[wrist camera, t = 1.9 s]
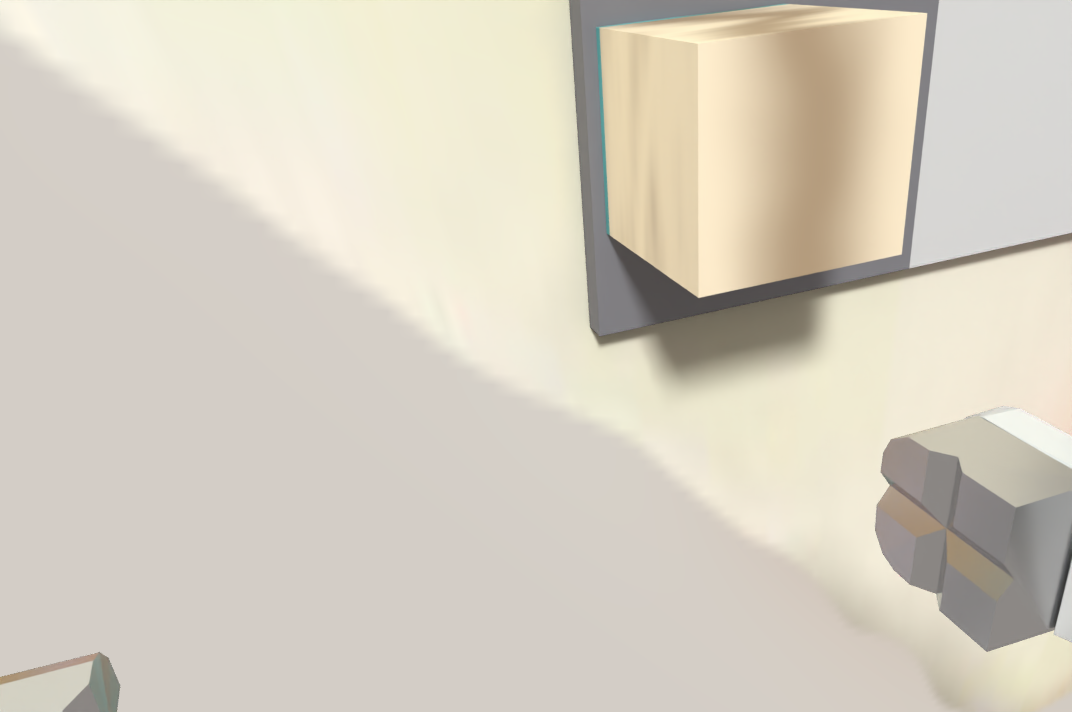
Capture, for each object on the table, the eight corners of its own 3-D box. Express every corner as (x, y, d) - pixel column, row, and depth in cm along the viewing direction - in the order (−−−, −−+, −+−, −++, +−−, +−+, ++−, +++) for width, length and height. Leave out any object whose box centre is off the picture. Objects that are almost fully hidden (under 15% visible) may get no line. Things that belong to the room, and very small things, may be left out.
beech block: (784, 3, 30) (927, 12, 24) (776, 201, 33) (901, 254, 27) (595, 27, 28) (698, 43, 22) (606, 233, 31) (698, 298, 25)
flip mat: (1201, -161, 33) (1227, -165, 32) (1120, 212, 40) (1140, 217, 39) (562, -109, 27) (573, -111, 26) (589, 326, 33) (599, 336, 33)
